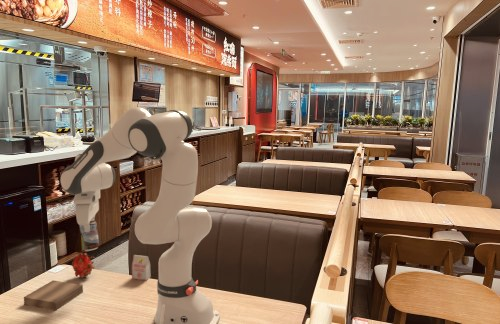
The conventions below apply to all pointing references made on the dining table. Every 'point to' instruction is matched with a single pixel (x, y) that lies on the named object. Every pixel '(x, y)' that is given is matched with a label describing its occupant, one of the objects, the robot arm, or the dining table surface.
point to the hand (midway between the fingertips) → (89, 228)
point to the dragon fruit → (82, 264)
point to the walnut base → (53, 295)
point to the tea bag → (141, 268)
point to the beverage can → (89, 237)
